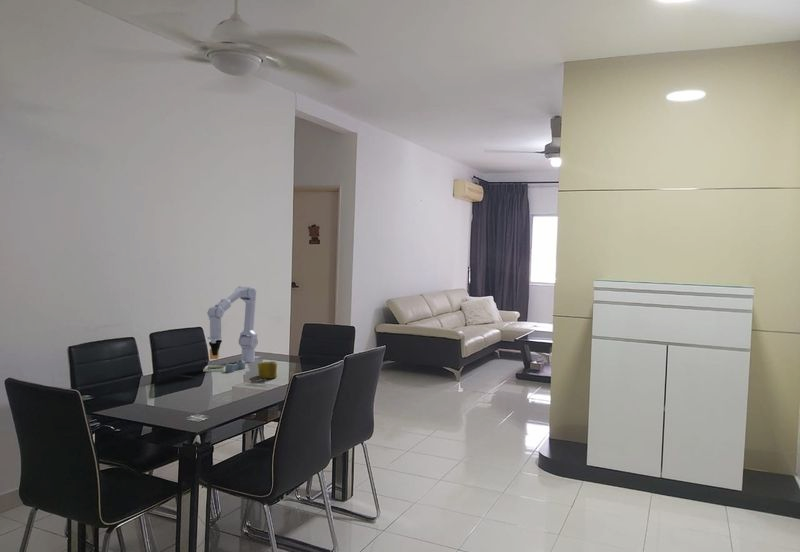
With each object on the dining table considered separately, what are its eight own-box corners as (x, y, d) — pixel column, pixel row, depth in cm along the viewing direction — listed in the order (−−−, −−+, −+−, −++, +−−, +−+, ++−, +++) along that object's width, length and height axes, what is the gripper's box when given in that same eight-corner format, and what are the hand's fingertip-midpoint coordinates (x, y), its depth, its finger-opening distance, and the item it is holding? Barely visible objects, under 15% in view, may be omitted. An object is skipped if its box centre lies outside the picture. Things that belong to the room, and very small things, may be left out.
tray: (206, 369, 324) (206, 365, 324) (226, 368, 326) (226, 365, 325) (203, 373, 314) (203, 369, 313) (223, 372, 315) (224, 369, 315)
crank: (239, 367, 325) (239, 359, 325) (246, 368, 324) (246, 359, 323) (225, 371, 314) (225, 363, 314) (232, 372, 312) (232, 363, 312)
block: (218, 357, 321) (218, 348, 321) (217, 358, 317) (217, 349, 317) (211, 357, 321) (210, 348, 320) (210, 359, 317) (209, 349, 317)
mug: (277, 376, 299) (272, 357, 301) (258, 382, 300) (253, 363, 301) (284, 376, 311) (279, 357, 313) (265, 382, 312) (260, 363, 313)
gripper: (209, 327, 325) (210, 352, 326) (205, 331, 311) (205, 357, 311) (223, 327, 326) (223, 352, 327) (219, 331, 312) (219, 356, 312)
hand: (215, 354), depth 319 cm, fingers closed on block, 4 cm apart
